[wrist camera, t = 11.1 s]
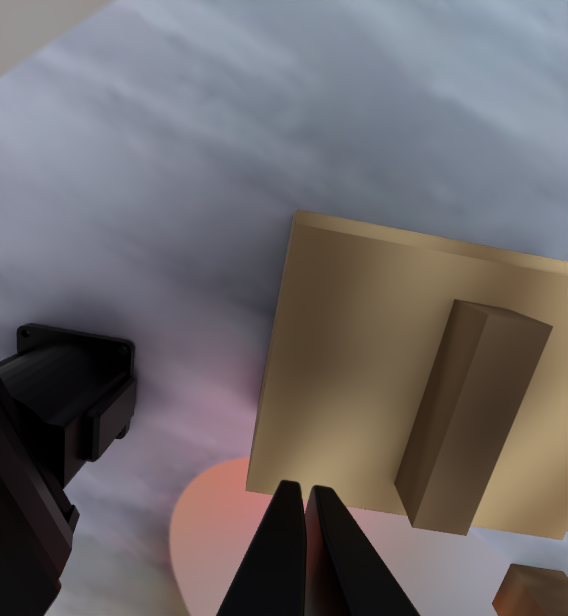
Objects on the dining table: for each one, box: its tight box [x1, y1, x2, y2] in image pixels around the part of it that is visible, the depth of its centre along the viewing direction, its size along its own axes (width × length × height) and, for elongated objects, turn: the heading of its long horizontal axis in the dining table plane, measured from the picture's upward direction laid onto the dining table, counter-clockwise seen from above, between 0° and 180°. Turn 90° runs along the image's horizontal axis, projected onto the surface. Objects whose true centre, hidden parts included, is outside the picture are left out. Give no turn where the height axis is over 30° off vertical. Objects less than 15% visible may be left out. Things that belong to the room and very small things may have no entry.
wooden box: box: [246, 209, 568, 484], centre depth 17 cm, size 26×12×6 cm, turn 79°
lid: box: [246, 224, 568, 540], centre depth 12 cm, size 14×11×3 cm
